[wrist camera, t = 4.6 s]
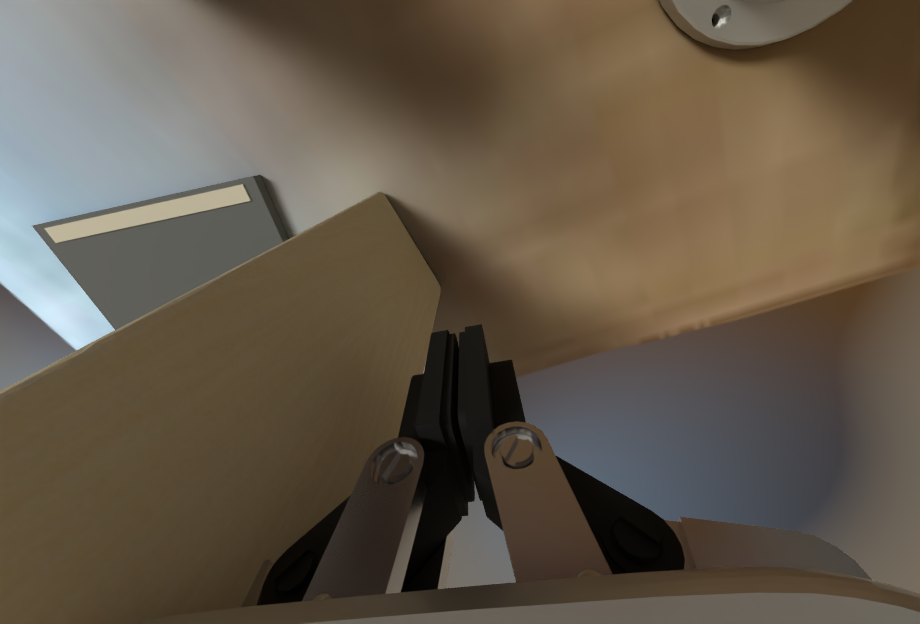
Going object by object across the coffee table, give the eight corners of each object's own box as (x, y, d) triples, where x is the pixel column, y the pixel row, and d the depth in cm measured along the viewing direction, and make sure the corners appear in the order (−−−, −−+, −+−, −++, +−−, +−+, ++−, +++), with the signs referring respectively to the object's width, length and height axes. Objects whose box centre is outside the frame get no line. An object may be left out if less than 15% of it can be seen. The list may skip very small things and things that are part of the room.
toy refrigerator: (293, 239, 22) (-536, 714, 4) (380, 186, 21) (-394, 597, 2) (362, 327, 26) (83, 815, 7) (442, 287, 24) (349, 802, 5)
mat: (260, 175, 21) (252, 176, 20) (339, 354, 27) (336, 360, 26) (45, 223, 22) (30, 226, 21) (168, 381, 29) (160, 388, 28)
